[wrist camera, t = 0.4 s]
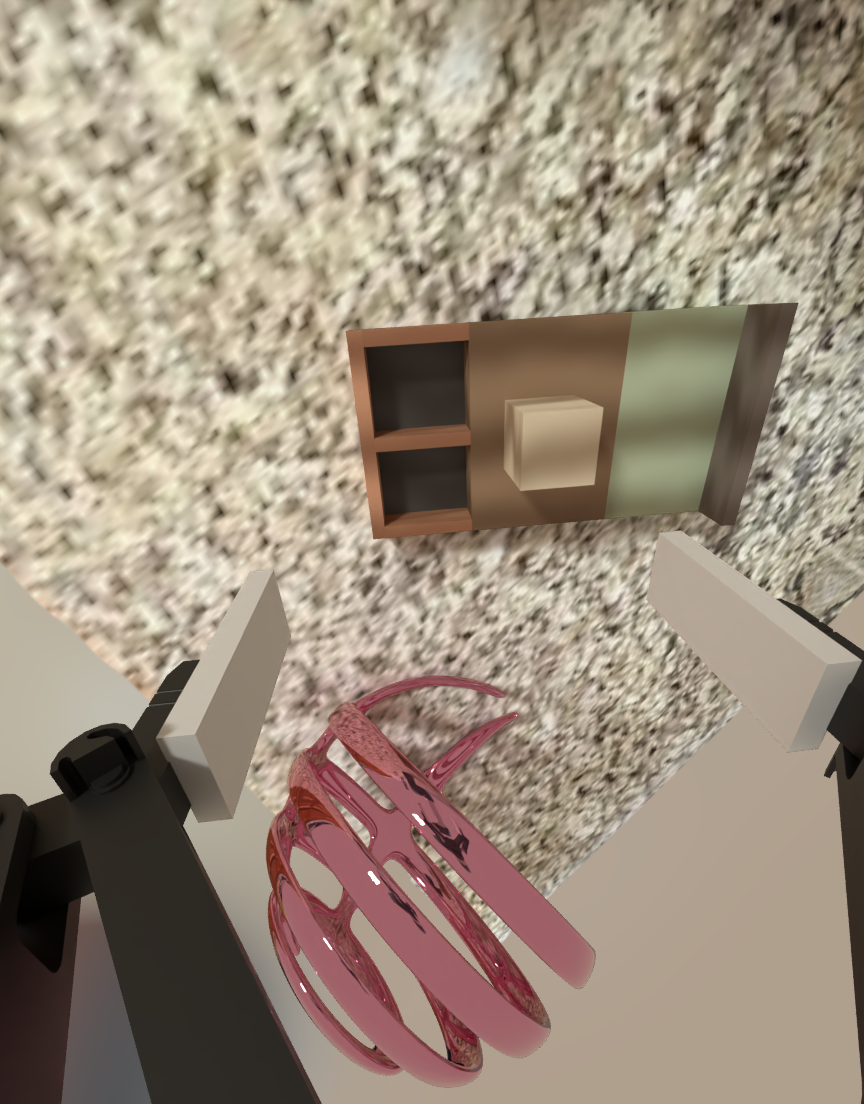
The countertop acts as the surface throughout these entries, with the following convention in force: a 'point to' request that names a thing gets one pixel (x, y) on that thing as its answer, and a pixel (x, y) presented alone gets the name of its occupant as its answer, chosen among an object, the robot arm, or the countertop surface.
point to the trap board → (560, 370)
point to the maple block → (551, 441)
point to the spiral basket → (409, 904)
